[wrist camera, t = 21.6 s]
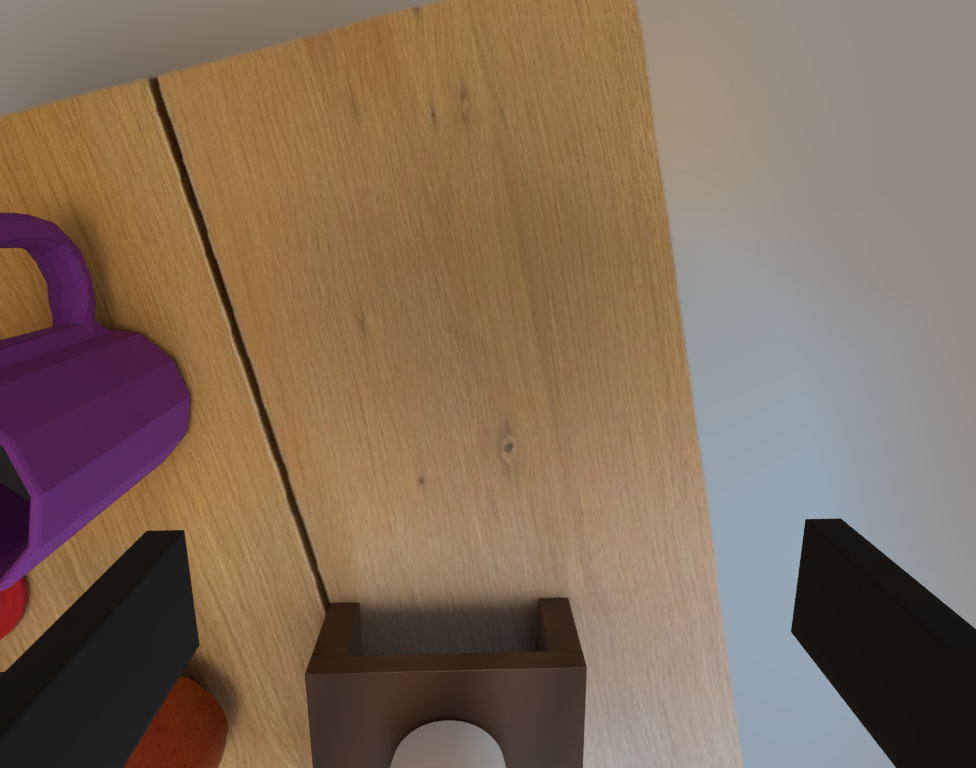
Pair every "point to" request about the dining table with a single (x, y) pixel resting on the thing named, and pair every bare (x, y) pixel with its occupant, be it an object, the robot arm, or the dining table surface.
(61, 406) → the mug
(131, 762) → the fruit
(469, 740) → the cup
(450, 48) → the dining table surface
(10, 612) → the tracker holder
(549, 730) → the shelf stand
